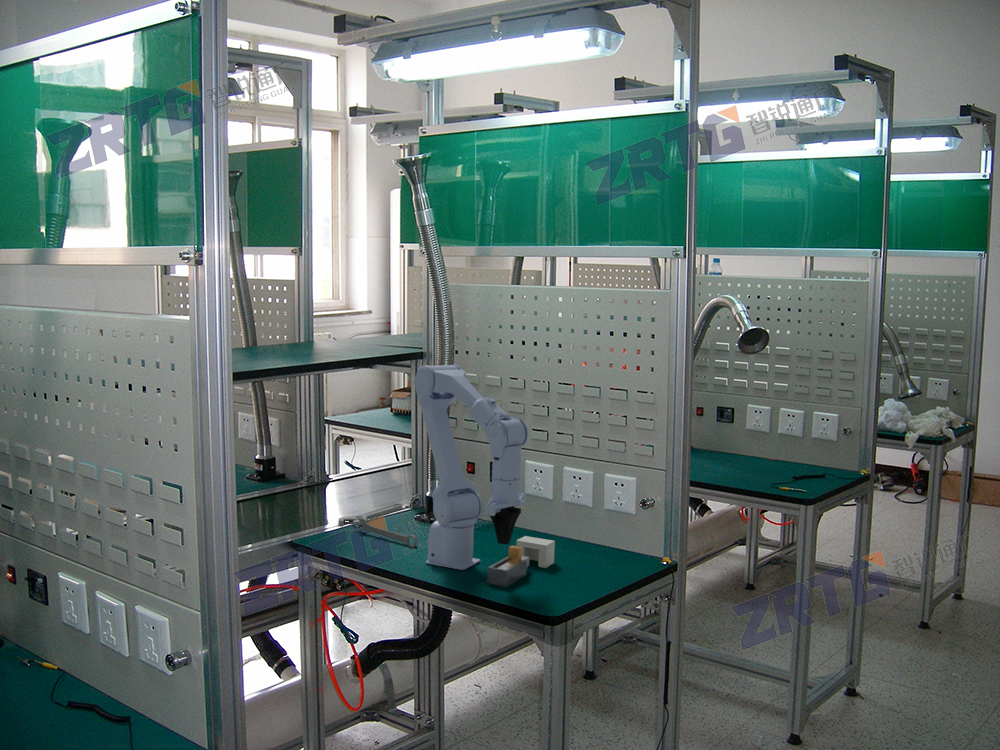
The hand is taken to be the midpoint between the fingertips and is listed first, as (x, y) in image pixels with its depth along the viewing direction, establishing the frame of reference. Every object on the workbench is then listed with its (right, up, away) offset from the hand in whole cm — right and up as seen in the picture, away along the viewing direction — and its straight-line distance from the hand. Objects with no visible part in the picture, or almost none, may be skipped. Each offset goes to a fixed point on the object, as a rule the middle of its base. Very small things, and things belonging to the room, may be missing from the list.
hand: (503, 543), depth 188 cm
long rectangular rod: (+2, -7, +5) cm, 9 cm away
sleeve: (+1, -8, +3) cm, 9 cm away
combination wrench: (-28, -5, +31) cm, 42 cm away
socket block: (+7, -7, +15) cm, 18 cm away
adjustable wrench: (-33, -3, +51) cm, 61 cm away
